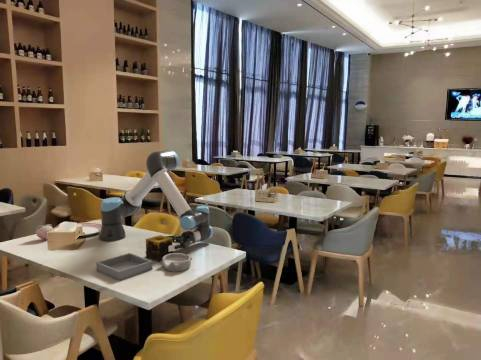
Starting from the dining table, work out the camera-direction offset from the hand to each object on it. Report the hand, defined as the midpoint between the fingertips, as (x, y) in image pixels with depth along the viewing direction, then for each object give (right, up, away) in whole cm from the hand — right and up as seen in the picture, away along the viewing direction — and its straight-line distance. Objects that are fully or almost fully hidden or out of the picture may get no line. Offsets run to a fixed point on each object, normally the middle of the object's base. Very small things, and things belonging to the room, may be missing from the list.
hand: (159, 246), depth 201 cm
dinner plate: (-58, +1, +46) cm, 74 cm away
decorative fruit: (-73, -1, +30) cm, 79 cm away
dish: (+11, -8, -12) cm, 18 cm away
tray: (-13, -8, -17) cm, 23 cm away
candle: (0, -6, +1) cm, 6 cm away
